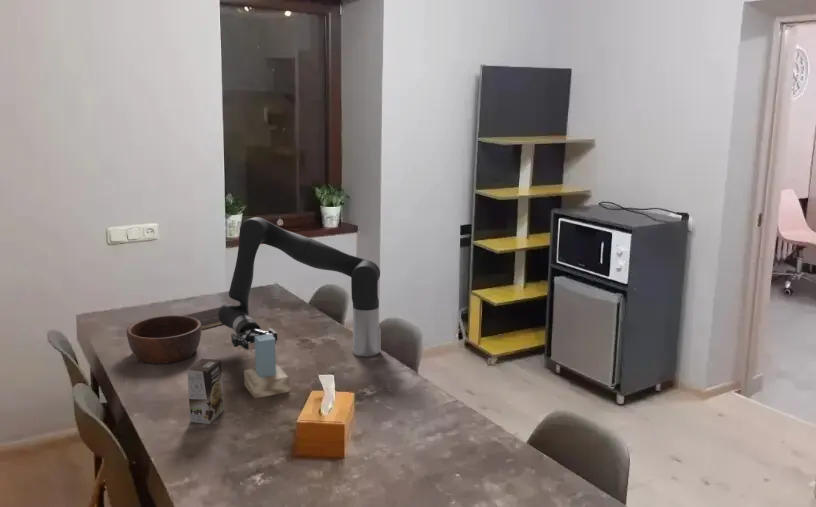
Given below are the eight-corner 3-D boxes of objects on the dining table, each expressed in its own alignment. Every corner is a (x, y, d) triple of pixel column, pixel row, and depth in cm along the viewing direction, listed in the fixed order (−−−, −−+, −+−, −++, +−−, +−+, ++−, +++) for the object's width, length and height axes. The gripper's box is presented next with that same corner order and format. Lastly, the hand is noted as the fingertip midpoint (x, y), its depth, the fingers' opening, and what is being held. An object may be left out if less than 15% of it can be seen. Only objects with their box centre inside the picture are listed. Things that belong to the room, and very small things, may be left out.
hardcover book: (247, 319, 289) (247, 314, 288) (195, 332, 273) (195, 326, 273) (227, 310, 300) (227, 305, 300) (176, 322, 285) (176, 316, 284)
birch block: (277, 378, 231) (277, 364, 230) (288, 391, 221) (288, 376, 220) (244, 384, 226) (244, 370, 225) (254, 398, 216) (253, 383, 215)
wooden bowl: (201, 338, 266) (199, 312, 264) (204, 362, 243) (203, 334, 240) (130, 344, 258) (128, 318, 256) (126, 371, 235) (124, 342, 233)
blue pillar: (271, 369, 226) (270, 333, 223) (276, 374, 221) (274, 338, 219) (255, 372, 223) (254, 336, 221) (260, 377, 219) (259, 341, 216)
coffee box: (210, 424, 199) (207, 371, 196) (189, 422, 201) (186, 369, 197) (224, 410, 208) (222, 359, 204) (204, 408, 209) (201, 357, 206)
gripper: (224, 321, 234) (238, 337, 220) (266, 315, 241) (282, 330, 227) (225, 342, 236) (239, 359, 222) (267, 336, 243) (282, 352, 229)
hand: (260, 344), depth 225 cm, fingers open, 8 cm apart
